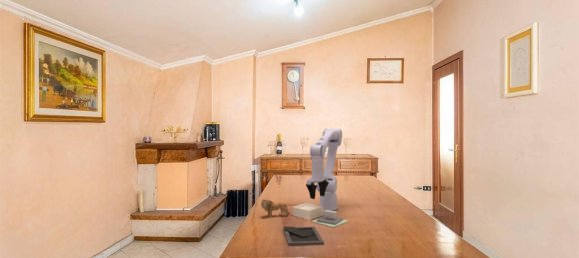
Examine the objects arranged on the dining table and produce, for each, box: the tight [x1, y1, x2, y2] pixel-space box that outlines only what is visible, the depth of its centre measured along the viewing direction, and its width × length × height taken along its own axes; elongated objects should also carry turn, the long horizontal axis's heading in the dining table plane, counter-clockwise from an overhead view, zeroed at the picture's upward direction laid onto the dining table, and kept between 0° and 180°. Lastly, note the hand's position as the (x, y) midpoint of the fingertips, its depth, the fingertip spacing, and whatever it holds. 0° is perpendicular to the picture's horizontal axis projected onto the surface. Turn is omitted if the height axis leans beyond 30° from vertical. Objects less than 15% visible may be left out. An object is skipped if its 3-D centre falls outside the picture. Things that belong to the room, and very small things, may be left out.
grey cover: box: [317, 210, 344, 225], centre depth 146 cm, size 9×9×4 cm
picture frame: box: [283, 225, 325, 247], centre depth 126 cm, size 13×2×18 cm
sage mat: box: [311, 217, 349, 228], centre depth 146 cm, size 12×12×1 cm
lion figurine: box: [260, 198, 290, 219], centre depth 155 cm, size 15×5×9 cm, turn 111°
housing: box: [291, 202, 324, 221], centre depth 156 cm, size 11×11×4 cm
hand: (317, 197), depth 154 cm, fingers open, 7 cm apart
